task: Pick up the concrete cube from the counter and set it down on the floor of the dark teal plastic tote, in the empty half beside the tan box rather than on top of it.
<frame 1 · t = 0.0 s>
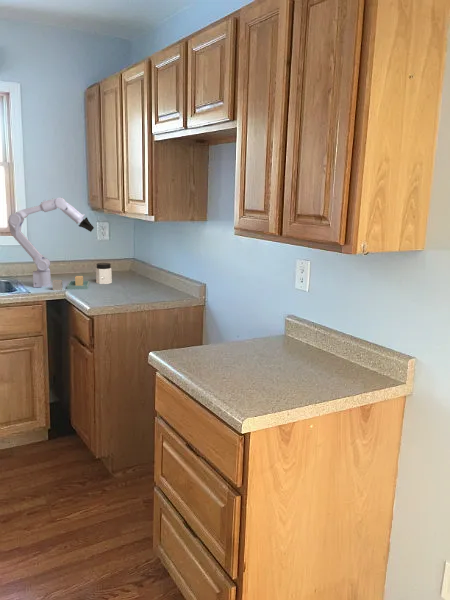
hand: (92, 229, 295), 32 cm above the counter, tool tilted 50°, fingers open, 7 cm apart
concrete cube: (57, 290, 286), on the counter
tan box: (79, 285, 298), point 1 cm above the counter, touching tote
jar: (104, 284, 308), on the counter
tote: (78, 287, 294), on the counter
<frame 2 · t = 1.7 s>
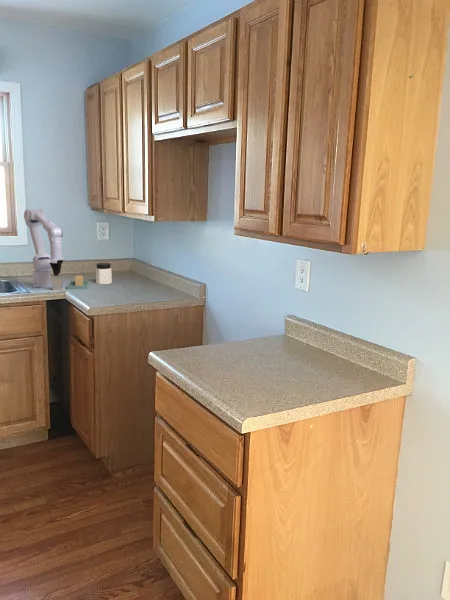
hand: (57, 274, 284), 9 cm above the counter, tool pointing down, fingers open, 7 cm apart
nothing on the counter moved.
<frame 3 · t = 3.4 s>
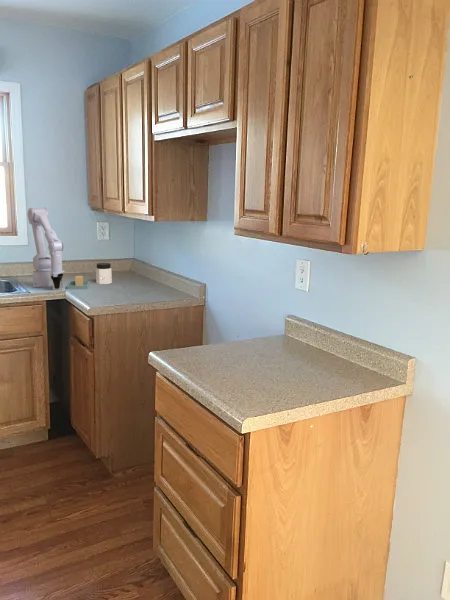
hand: (57, 287, 285), 1 cm above the counter, tool pointing down, fingers closed on concrete cube, 5 cm apart
concrete cube: (57, 290, 286), on the counter, touching gripper
everything else where it was.
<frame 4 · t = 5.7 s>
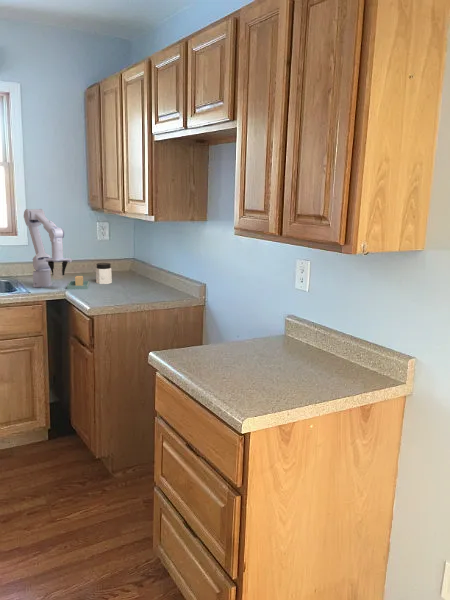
hand: (58, 275, 284), 8 cm above the counter, tool pointing down, fingers closed on concrete cube, 5 cm apart
concrete cube: (58, 278, 284), point 7 cm above the counter, touching gripper
everything else where it was.
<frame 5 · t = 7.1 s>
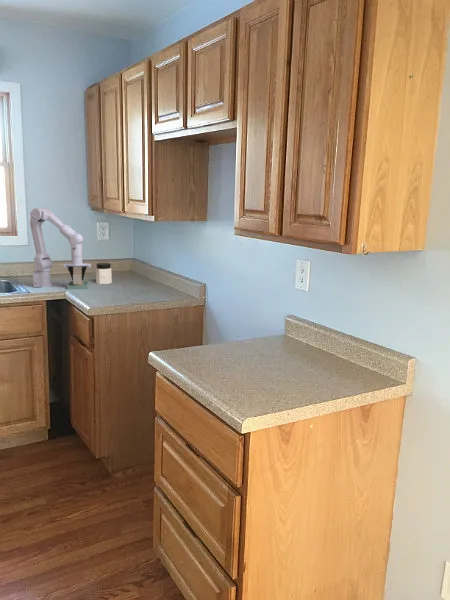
hand: (77, 280, 290), 5 cm above the counter, tool pointing down, fingers closed on concrete cube, 5 cm apart
concrete cube: (77, 283, 290), point 3 cm above the counter, touching gripper
everything else where it was.
when the fingers open (4 cm above the counter, at t = 8.2 s): concrete cube drops 1 cm, resting on tote.
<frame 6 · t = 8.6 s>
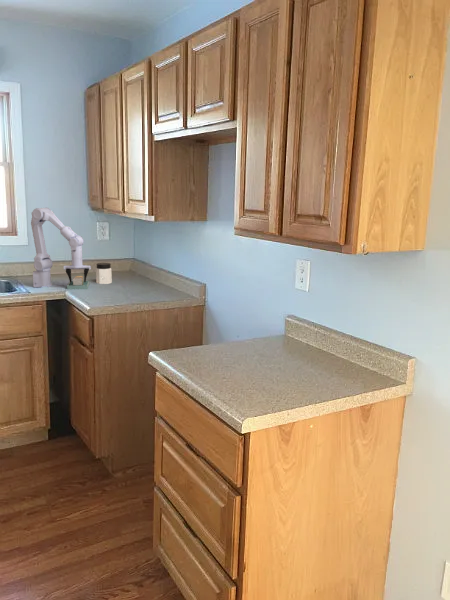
hand: (77, 282, 290), 4 cm above the counter, tool pointing down, fingers open, 7 cm apart
concrete cube: (78, 287, 291), point 1 cm above the counter, touching tote
everything else where it was.
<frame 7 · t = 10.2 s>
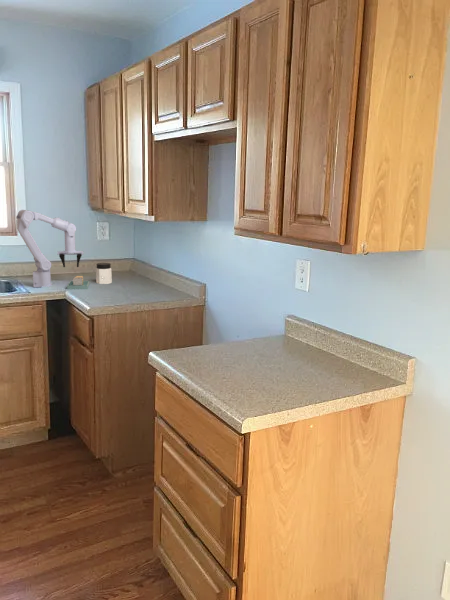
hand: (71, 266, 304), 10 cm above the counter, tool pointing down, fingers open, 7 cm apart
nothing on the counter moved.
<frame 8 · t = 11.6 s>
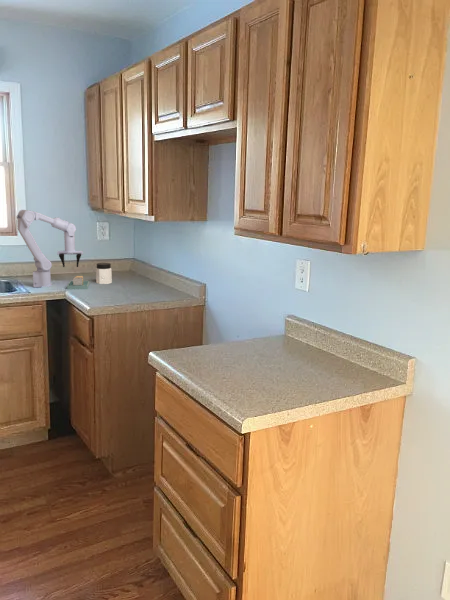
hand: (70, 266, 305), 10 cm above the counter, tool pointing down, fingers open, 7 cm apart
nothing on the counter moved.
at the end: concrete cube inside the target area on the tote (0.5 cm from its centre), point 0.6 cm above the tote's base; concrete cube tilted 0°; tan box moved 0.0 cm from its start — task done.
